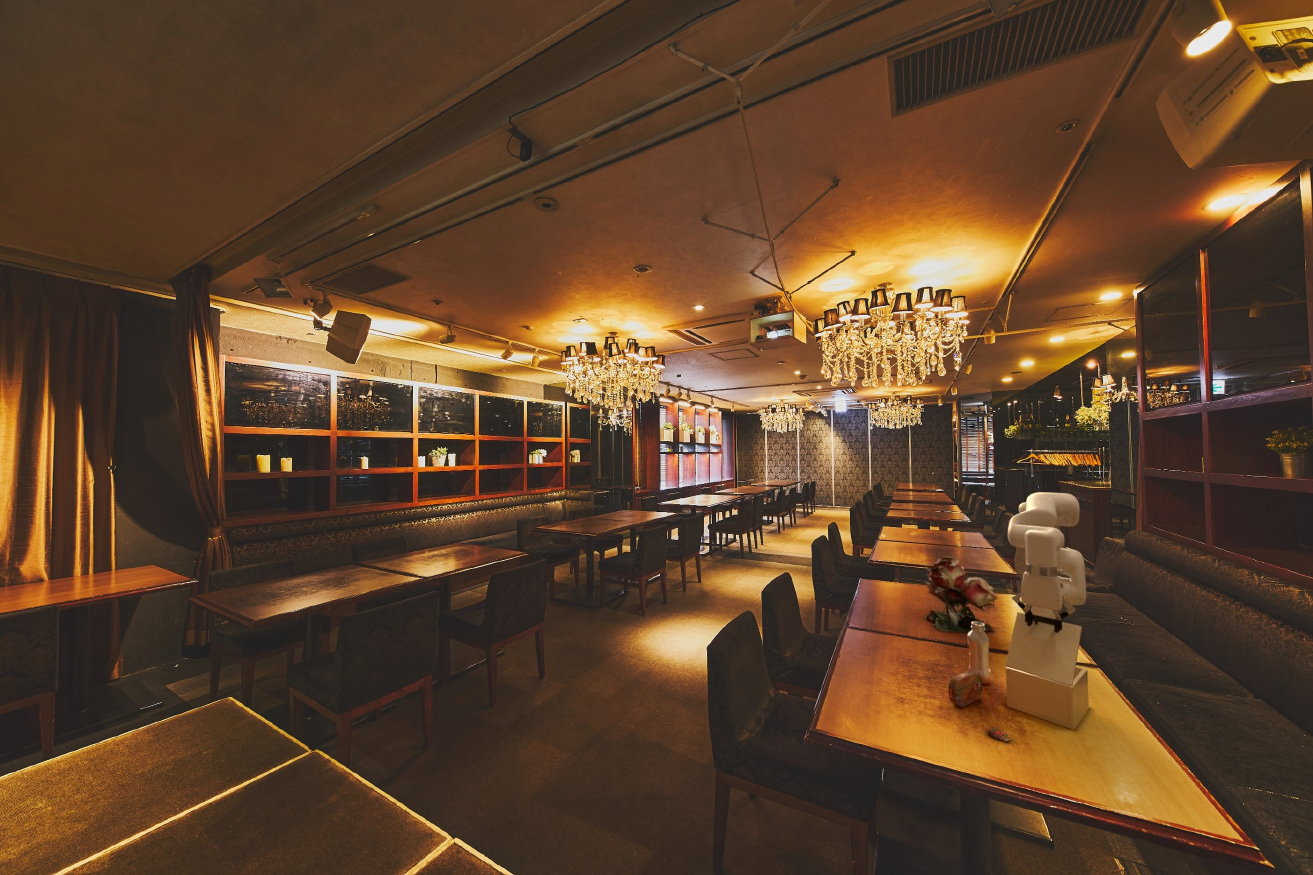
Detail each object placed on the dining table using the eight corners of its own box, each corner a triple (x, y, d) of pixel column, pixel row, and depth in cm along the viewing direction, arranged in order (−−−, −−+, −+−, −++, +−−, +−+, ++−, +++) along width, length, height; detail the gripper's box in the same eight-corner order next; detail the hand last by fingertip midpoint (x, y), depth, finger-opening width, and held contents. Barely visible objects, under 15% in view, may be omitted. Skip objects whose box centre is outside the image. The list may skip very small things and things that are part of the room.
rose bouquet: (1007, 632, 204) (1004, 563, 205) (940, 632, 205) (938, 563, 206) (968, 611, 230) (966, 550, 231) (909, 612, 230) (907, 551, 231)
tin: (956, 709, 145) (955, 682, 145) (946, 705, 147) (945, 678, 148) (984, 697, 152) (983, 671, 152) (973, 693, 154) (972, 667, 155)
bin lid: (1018, 613, 155) (1013, 604, 153) (1081, 627, 142) (1078, 618, 140) (1005, 666, 147) (1001, 658, 145) (1072, 686, 134) (1068, 677, 132)
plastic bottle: (995, 687, 158) (993, 627, 159) (973, 685, 159) (971, 626, 160) (986, 677, 164) (984, 620, 165) (964, 676, 166) (963, 619, 166)
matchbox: (986, 734, 132) (986, 733, 132) (992, 728, 135) (992, 726, 135) (1006, 742, 128) (1006, 741, 128) (1012, 735, 131) (1012, 734, 131)
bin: (1025, 687, 157) (1024, 651, 158) (1088, 708, 145) (1087, 669, 145) (1006, 705, 147) (1005, 667, 147) (1073, 729, 134) (1072, 687, 134)
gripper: (1081, 573, 141) (1083, 633, 141) (1011, 563, 155) (1013, 617, 155) (1074, 578, 137) (1077, 640, 136) (1004, 567, 150) (1006, 623, 150)
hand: (1043, 627), depth 145 cm, fingers closed on bin lid, 6 cm apart
